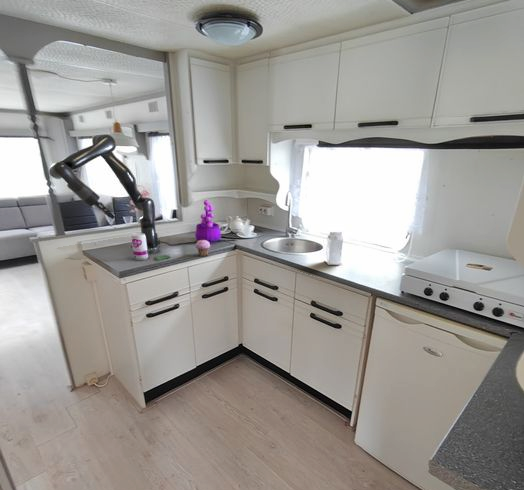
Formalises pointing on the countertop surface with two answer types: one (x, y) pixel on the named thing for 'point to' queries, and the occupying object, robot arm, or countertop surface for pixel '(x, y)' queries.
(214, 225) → the decorative plant
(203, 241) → the cupcake
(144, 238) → the supplement can
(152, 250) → the saucepan
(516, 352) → the countertop surface
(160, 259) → the green rectangular block
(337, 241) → the milk carton
